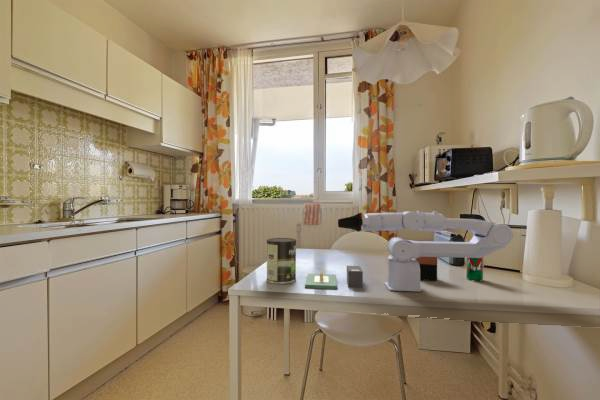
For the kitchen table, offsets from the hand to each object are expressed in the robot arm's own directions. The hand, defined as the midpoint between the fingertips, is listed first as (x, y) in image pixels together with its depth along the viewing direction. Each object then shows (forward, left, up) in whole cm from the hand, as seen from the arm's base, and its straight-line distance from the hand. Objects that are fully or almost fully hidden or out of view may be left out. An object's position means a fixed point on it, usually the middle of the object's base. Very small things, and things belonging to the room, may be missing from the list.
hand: (338, 223), depth 94 cm
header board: (+5, -3, -20) cm, 21 cm away
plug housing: (-6, -3, -20) cm, 21 cm away
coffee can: (+19, -4, -21) cm, 28 cm away
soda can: (-49, -13, -20) cm, 54 cm away
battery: (-32, -12, -21) cm, 39 cm away
